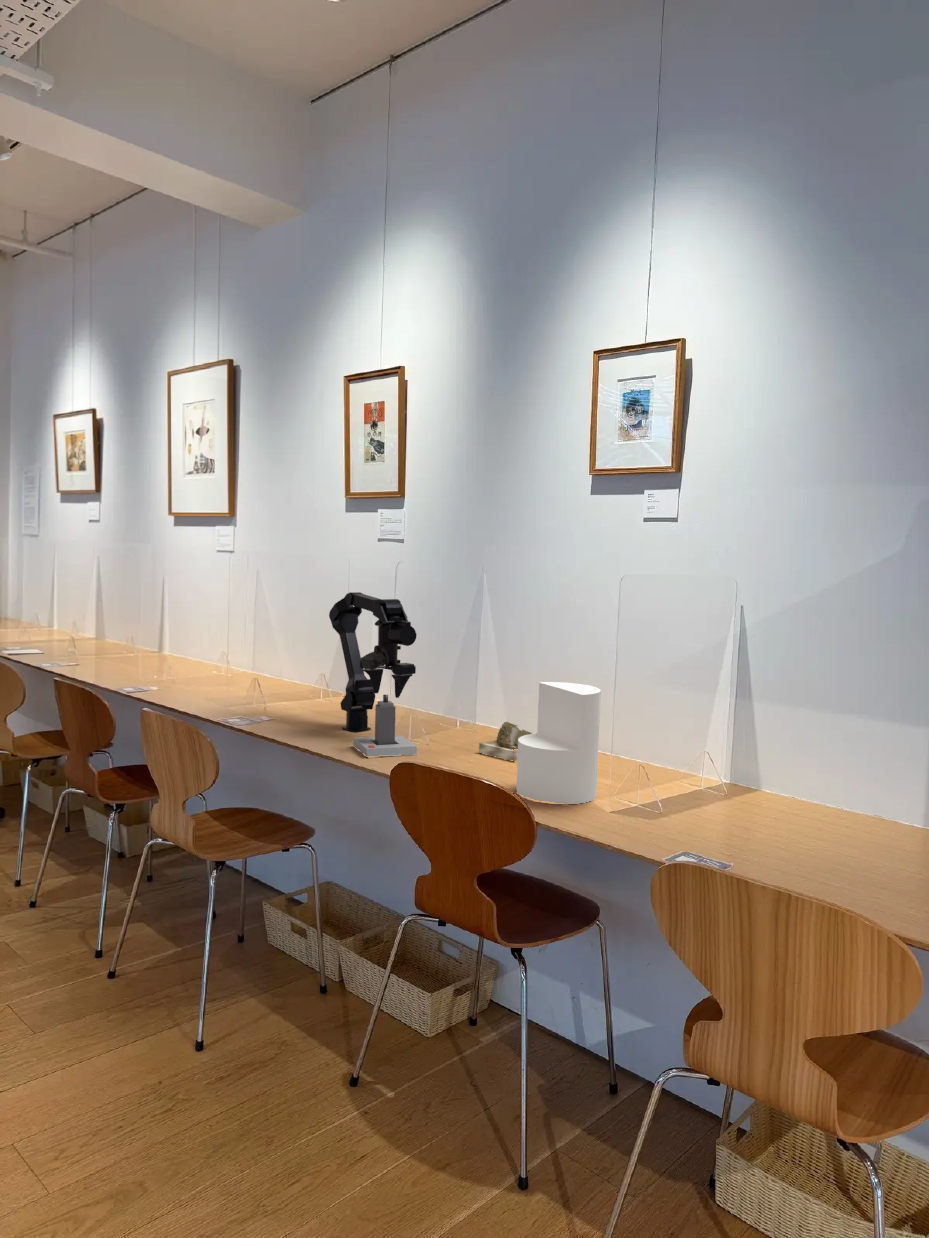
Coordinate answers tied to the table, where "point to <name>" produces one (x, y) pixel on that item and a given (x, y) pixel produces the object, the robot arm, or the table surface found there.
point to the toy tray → (498, 750)
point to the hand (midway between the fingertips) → (386, 695)
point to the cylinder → (562, 745)
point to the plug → (385, 722)
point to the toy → (510, 735)
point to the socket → (385, 747)
